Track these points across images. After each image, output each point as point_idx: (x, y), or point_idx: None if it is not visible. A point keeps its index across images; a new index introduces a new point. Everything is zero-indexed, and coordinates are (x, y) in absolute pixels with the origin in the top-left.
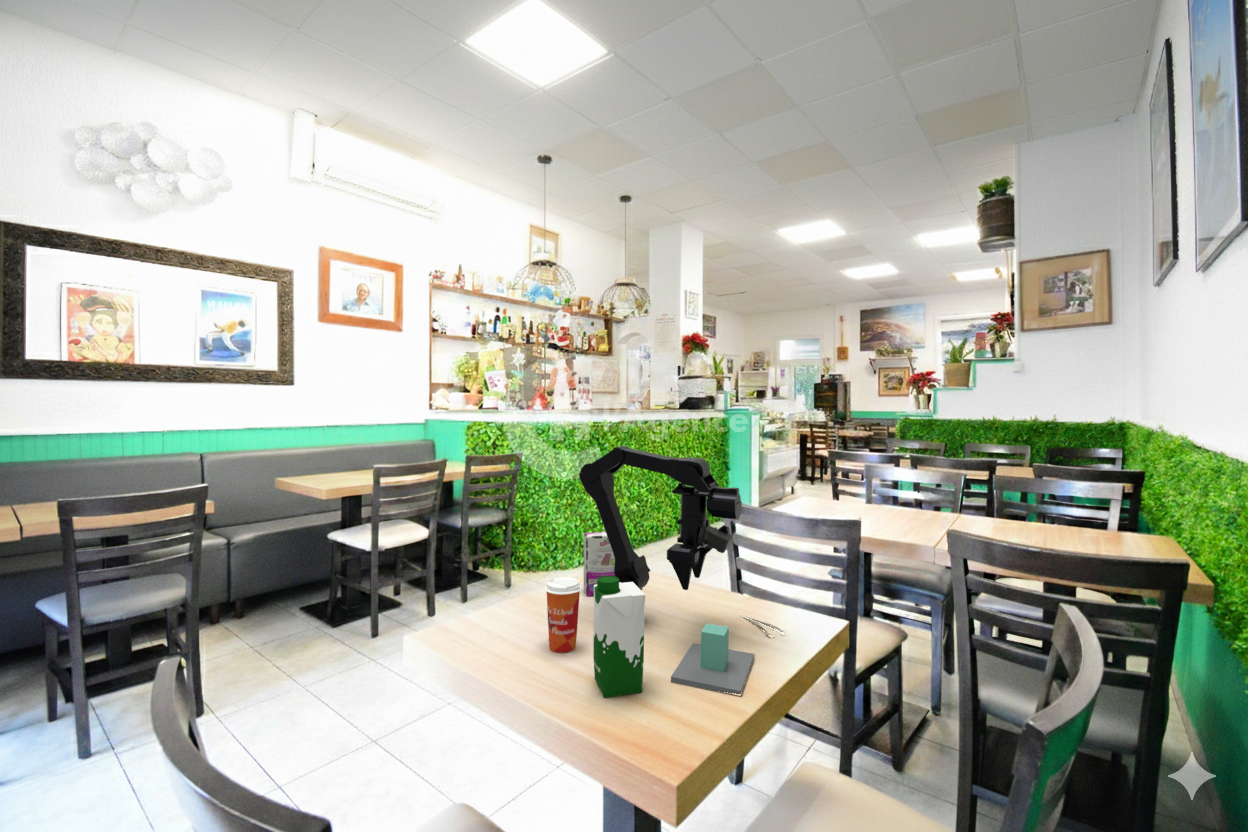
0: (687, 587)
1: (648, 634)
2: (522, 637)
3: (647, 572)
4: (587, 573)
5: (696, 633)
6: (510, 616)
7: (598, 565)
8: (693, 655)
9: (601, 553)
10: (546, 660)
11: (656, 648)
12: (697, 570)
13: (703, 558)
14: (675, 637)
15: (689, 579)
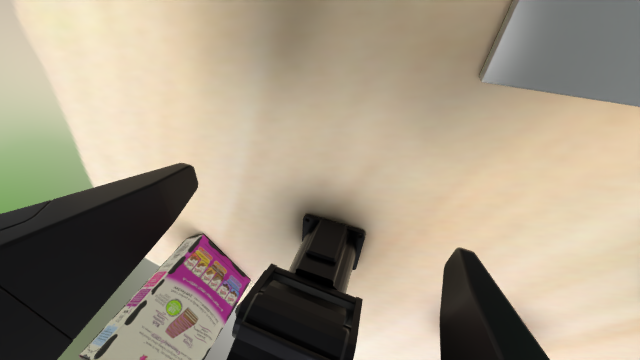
0: (483, 269)
1: (388, 201)
2: (437, 355)
3: (267, 334)
4: (226, 319)
5: (349, 75)
6: (361, 352)
7: (202, 321)
8: (633, 66)
9: (179, 344)
10: (544, 350)
11: (485, 184)
12: (156, 204)
13: (1, 248)
14: (395, 137)
15: (522, 342)
